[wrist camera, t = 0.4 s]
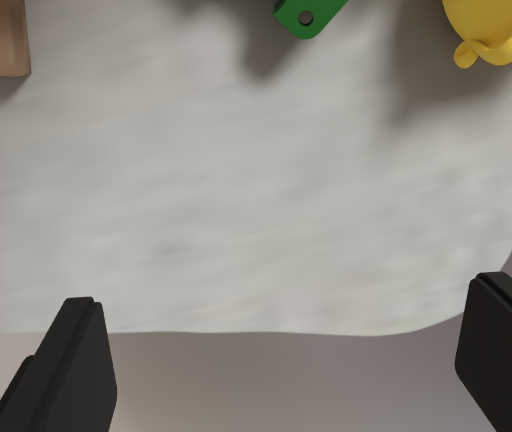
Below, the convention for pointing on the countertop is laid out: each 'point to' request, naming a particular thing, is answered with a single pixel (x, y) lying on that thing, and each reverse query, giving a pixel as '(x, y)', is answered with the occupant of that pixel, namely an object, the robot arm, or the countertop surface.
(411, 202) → the countertop surface
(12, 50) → the post block
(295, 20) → the clamp
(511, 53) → the teapot
